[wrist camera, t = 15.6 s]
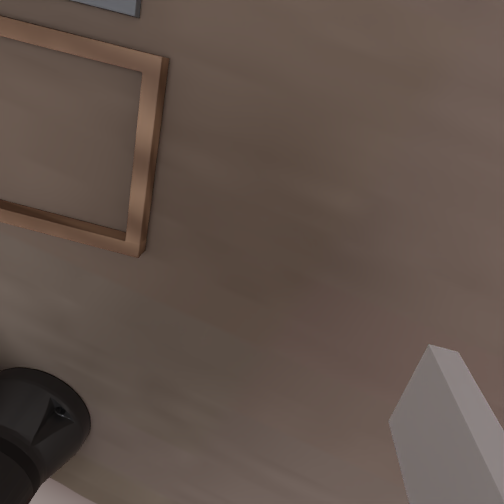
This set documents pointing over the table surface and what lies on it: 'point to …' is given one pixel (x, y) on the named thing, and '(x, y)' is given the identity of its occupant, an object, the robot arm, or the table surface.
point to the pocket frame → (145, 141)
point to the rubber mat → (116, 5)
